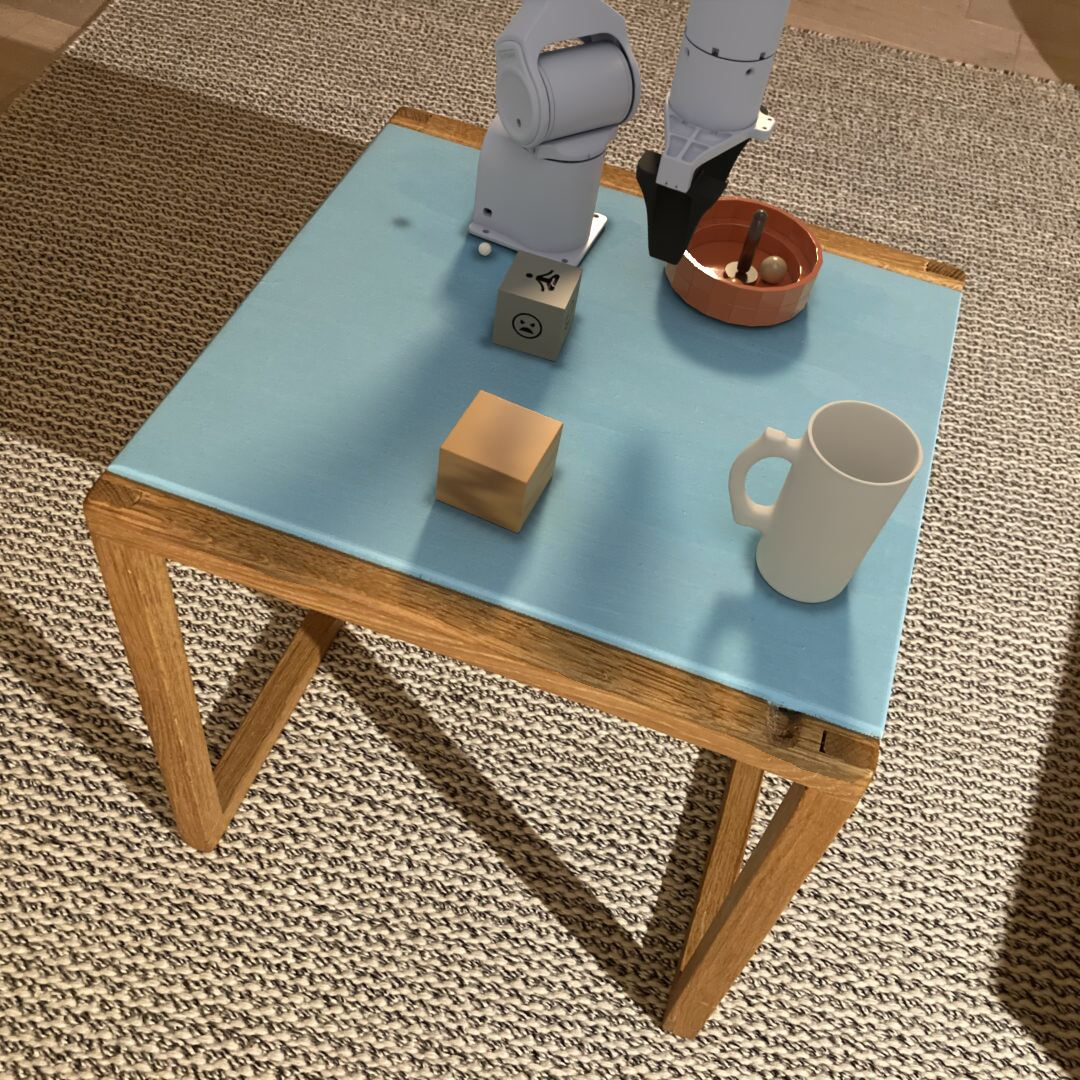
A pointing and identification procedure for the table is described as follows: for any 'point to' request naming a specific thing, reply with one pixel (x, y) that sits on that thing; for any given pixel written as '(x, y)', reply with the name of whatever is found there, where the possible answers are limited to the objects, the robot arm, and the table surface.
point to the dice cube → (536, 305)
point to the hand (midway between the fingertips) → (682, 229)
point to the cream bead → (773, 269)
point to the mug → (827, 495)
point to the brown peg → (748, 252)
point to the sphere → (484, 248)
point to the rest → (498, 460)
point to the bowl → (723, 244)
